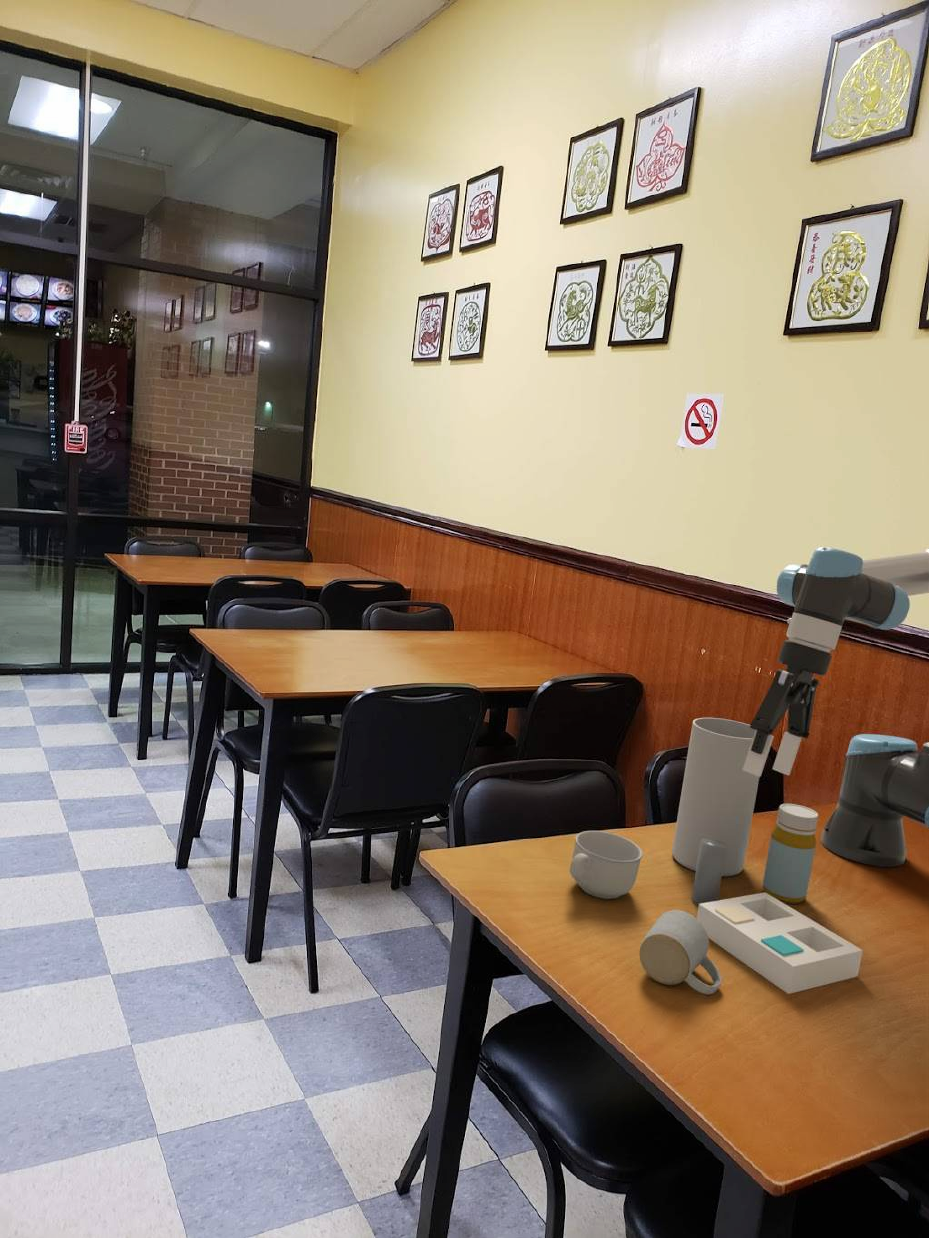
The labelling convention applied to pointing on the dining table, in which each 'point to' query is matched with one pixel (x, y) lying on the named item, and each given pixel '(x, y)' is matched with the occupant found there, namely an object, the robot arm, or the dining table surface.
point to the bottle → (791, 854)
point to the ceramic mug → (678, 951)
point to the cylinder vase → (716, 793)
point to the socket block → (779, 942)
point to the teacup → (605, 863)
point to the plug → (708, 871)
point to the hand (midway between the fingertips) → (766, 773)
